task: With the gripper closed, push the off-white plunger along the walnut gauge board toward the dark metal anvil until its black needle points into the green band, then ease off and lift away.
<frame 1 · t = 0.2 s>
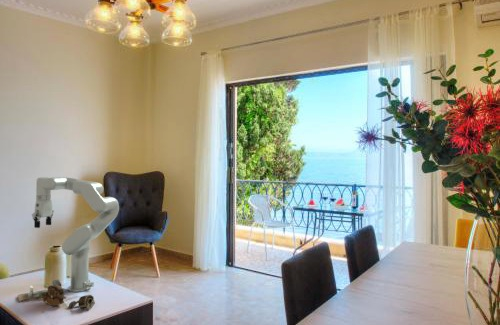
hand: (43, 226, 214), 36 cm above the table, fingers open, 9 cm apart
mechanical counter: (82, 308, 183), on the table
wooden carving: (53, 305, 186), on the table
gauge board: (39, 295, 199), on the table
plunger: (31, 291, 195), point 4 cm above the table, slide at 0.0 cm
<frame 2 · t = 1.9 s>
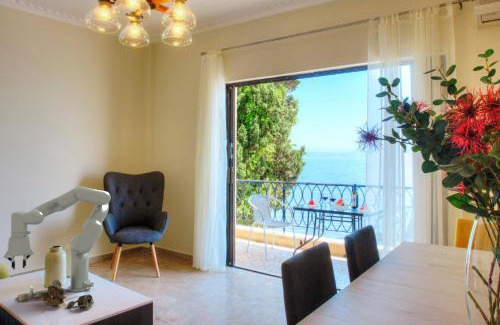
hand: (18, 267, 193), 17 cm above the table, fingers open, 3 cm apart
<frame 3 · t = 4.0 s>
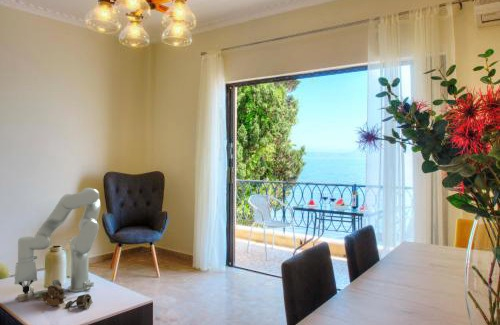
hand: (26, 293, 195), 3 cm above the table, fingers closed
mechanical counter: (79, 307, 184), on the table
plunger: (32, 291, 195), point 4 cm above the table, slide at 0.3 cm, touching gripper
everything else where it was.
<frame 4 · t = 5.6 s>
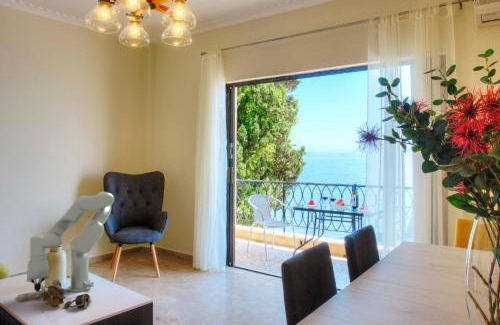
hand: (37, 290, 198), 3 cm above the table, fingers closed
plunger: (43, 289, 198), point 4 cm above the table, slide at 5.7 cm, touching gripper
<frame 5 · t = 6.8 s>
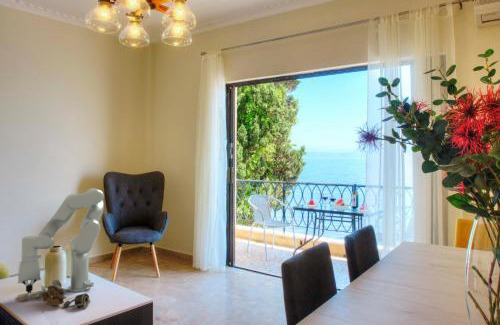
hand: (29, 292, 196), 3 cm above the table, fingers closed
plunger: (43, 289, 198), point 4 cm above the table, slide at 5.7 cm
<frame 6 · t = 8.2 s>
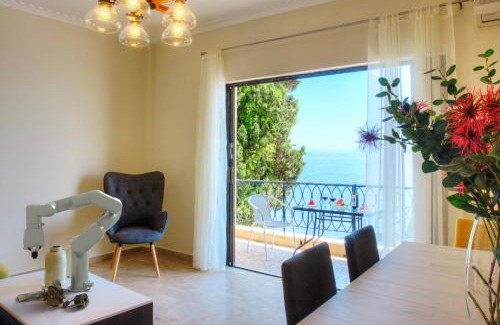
hand: (34, 258, 201), 20 cm above the table, fingers closed
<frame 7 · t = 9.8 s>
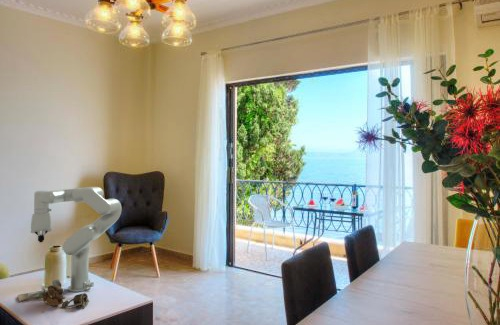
hand: (41, 241, 213), 27 cm above the table, fingers closed
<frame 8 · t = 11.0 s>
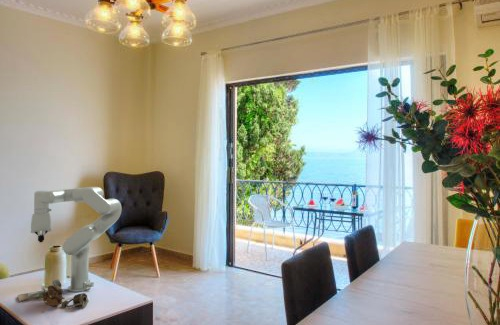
hand: (41, 241, 213), 27 cm above the table, fingers closed
at the end: plunger slide at 5.7 cm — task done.
